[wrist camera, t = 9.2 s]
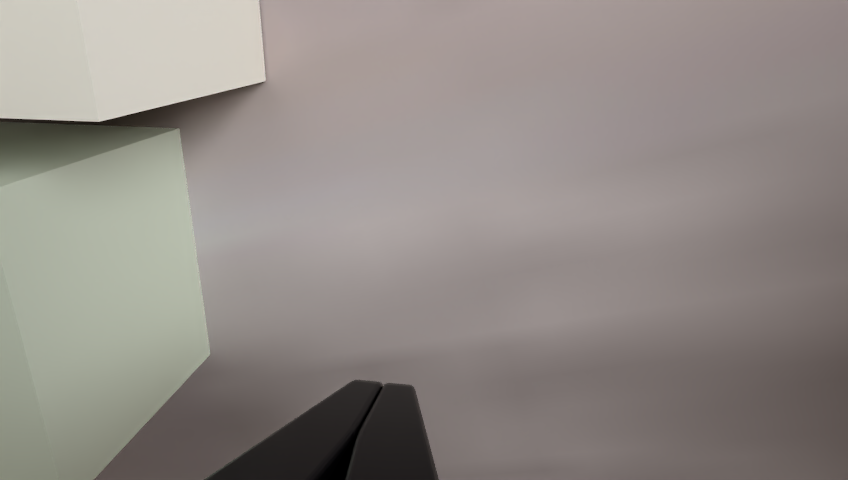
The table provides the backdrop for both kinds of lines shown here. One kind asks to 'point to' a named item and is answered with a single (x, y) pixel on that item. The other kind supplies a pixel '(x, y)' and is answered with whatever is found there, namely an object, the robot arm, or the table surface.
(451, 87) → the table surface
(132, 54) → the cleat board
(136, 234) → the cabinet block
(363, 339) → the table surface
